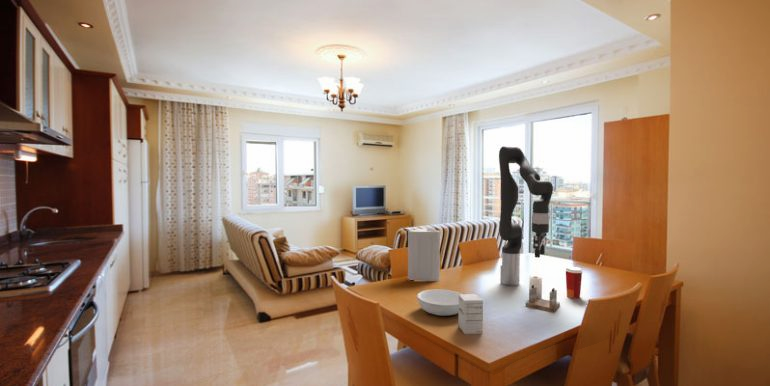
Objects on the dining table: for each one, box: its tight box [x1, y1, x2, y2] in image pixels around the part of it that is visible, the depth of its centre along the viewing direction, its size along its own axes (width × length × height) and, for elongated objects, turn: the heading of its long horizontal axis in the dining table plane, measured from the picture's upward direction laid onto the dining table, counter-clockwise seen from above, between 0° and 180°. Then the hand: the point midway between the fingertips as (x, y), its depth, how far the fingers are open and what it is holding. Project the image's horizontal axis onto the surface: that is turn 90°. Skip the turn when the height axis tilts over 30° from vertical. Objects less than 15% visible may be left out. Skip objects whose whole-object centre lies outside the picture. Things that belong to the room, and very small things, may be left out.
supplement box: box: [457, 293, 484, 335], centre depth 137 cm, size 7×7×13 cm
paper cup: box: [564, 266, 584, 300], centre depth 177 cm, size 8×8×14 cm
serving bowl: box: [417, 288, 463, 317], centre depth 156 cm, size 21×21×7 cm
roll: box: [528, 275, 543, 299], centre depth 176 cm, size 6×6×10 cm
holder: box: [525, 285, 561, 313], centre depth 164 cm, size 12×10×9 cm
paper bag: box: [407, 227, 441, 282], centre depth 210 cm, size 19×15×28 cm
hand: (539, 255), depth 175 cm, fingers open, 8 cm apart
